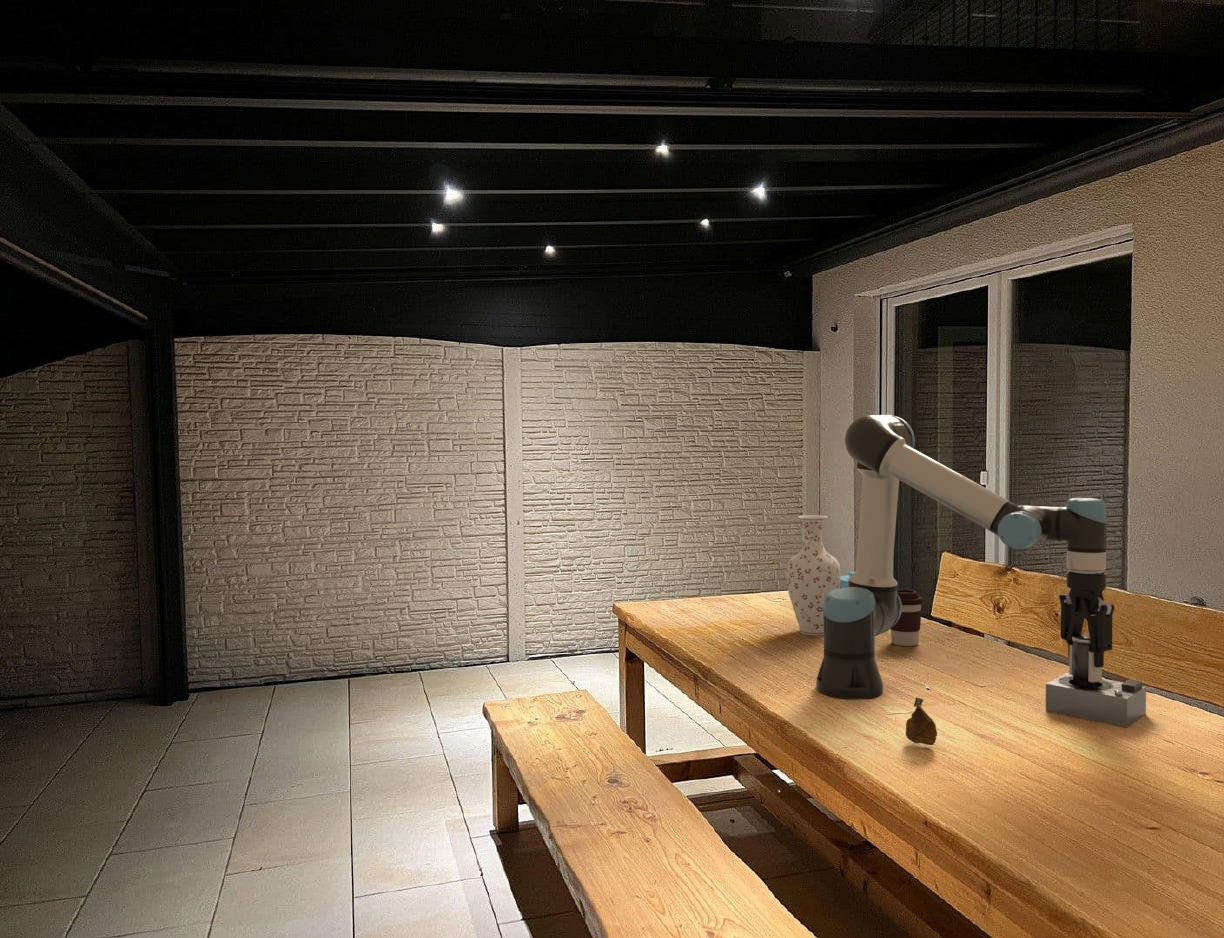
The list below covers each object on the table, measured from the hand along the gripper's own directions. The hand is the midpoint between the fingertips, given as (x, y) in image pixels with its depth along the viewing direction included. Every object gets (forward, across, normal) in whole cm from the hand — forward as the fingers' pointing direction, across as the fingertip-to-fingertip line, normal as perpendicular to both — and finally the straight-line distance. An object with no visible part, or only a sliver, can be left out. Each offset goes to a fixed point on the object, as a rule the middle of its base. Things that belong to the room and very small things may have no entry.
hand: (1085, 677), depth 197 cm
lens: (+2, 0, 0) cm, 2 cm away
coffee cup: (+7, +65, +4) cm, 65 cm away
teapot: (+8, +106, -3) cm, 106 cm away
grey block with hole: (+7, -2, -1) cm, 8 cm away
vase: (+8, +85, +22) cm, 89 cm away
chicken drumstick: (+8, -8, +46) cm, 47 cm away
